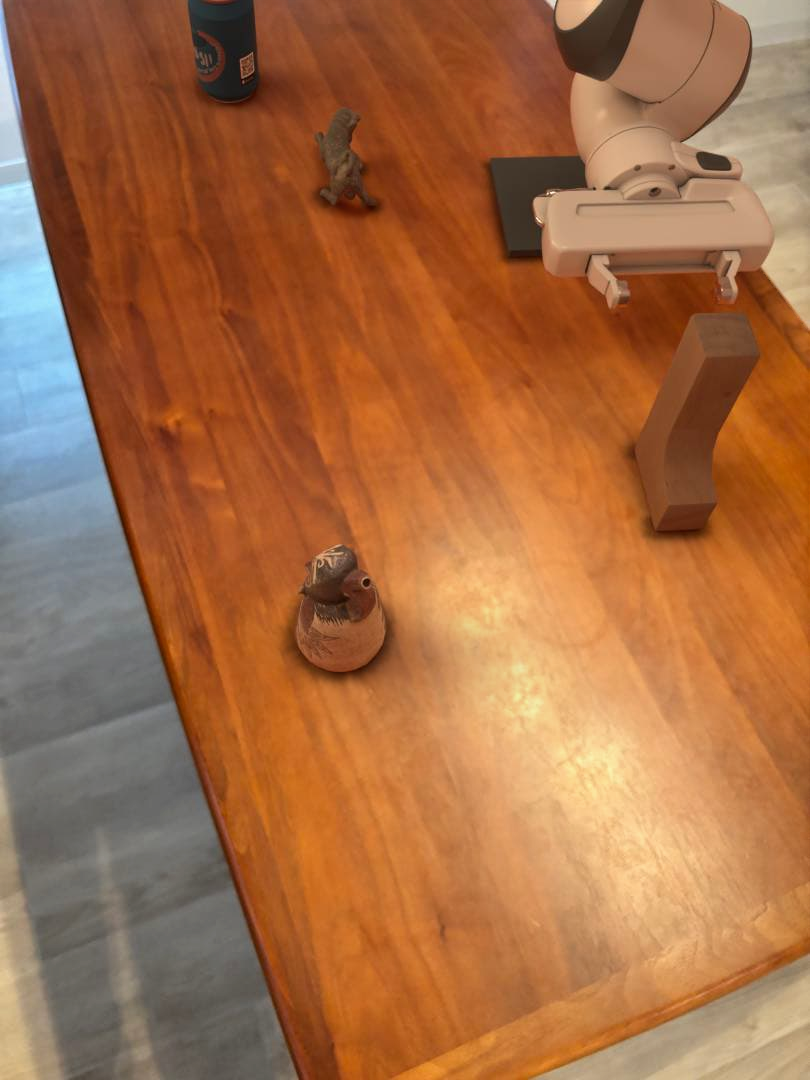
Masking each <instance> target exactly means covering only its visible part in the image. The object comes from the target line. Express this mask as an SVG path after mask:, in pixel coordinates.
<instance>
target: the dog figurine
mask: <svg viewBox="0 0 810 1080" xmlns="http://www.w3.org/2000/svg"><path fill="white" fill-rule="evenodd" d="M361 120H362V117H361V116H360V114H358V112H357V111H356V110H354V109H351V108H349V107H346V106H341V107H340V109H338V110H337V111H336V112H335V113H334V115H332V118H331V120H330V122H328V123H329V124H328V128H327V129H326V132H325V134H324V133H323V132H322V131H317V132H315V133H314V140H315V142H316V143H317V144H318V152H319V156H320V158H321V160H322V162H323V163H324V165H325V168H326V170H327V172H328V174H329V175H330V177H329V180H328V183H329V188H330V189H329V188H328V187H323V189H321V190H320V192H319V195H320V197H323V198H324V199H325V200H326V201H327V202H329V203H330V205H332V206H334V207H335V206H336V205H338V203H339V201H340V198H341V197H342V196H343V197H344V198H345V199H347V200H348V201H352V200H354V199H355V197H356V196H357V197H358V198H359V199H360V200H361V202H362V203H363V204H364V205H366V206H368V207H376V206H377V205H378V203H377V199H375V198H373V197H371V196H370V195H369V194H368V192H367V191H366V187H365V184H364V181H363V177H362V175H361V172H360V171H361V170H362V169H363V167H364V165H363V163H362V162H361V159H360V156H359V154H358V153H357V152H355V151H354V149H353V148H352V147H351V143H352V141H353V133H354V131H355V130H356V129H357V126H358V123H359V122H360V121H361Z"/></svg>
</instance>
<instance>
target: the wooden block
mask: <svg viewBox="0 0 810 1080" xmlns="http://www.w3.org/2000/svg"><path fill="white" fill-rule="evenodd" d="M760 358H761V350H760V347H759V344H758V342H757V339H756V336H755V333H754V330H753V327H752V325H751V321H750V318H749V316H748V314H747V313H746V312H744V311H733V312H732V311H730V312H706V313H705V312H703V313H694V314H692V315H691V316H690V318H689V320H688V322H687V324H686V327H685V330H684V332H683V334H682V336H681V339H680V341H679V344H678V345H677V348H676V350H675V353H674V355H673V357H672V359H671V361H670V365H669V367H668V369H667V372H666V374H665V375H664V378H663V381H662V383H661V385H660V387H659V390H658V392H657V394H656V396H655V399H654V402H653V404H652V406H651V409H650V411H649V413H648V416H647V417H646V420H645V423H644V425H643V426H642V430H641V432H640V434H639V437H638V439H637V441H636V443H635V446H634V449H633V452H634V454H635V459H636V463H637V466H638V471H639V475H640V479H641V483H642V486H643V490H644V494H645V499H646V502H647V506H648V510H649V513H650V517H651V521H652V525H653V529H654V531H656V532H671V531H687V530H689V531H690V530H701V529H703V528H704V527H705V525H706V523H707V522H708V521H709V519H710V517H711V516H712V514H713V512H714V510H716V509H715V508H716V507H717V505H718V502H719V501H718V495H717V490H716V485H715V481H714V476H713V475H714V474H713V464H714V462H713V461H714V449H715V446H716V443H717V440H718V436H719V434H720V432H721V430H722V428H723V426H724V425H725V422H726V421H727V419H728V417H729V415H730V413H731V412H732V409H733V408H734V406H735V404H736V402H737V400H738V399H739V396H740V395H741V393H742V391H743V389H744V387H745V386H746V384H747V382H748V380H749V379H750V376H751V375H752V373H753V371H754V370H755V367H756V365H757V364H758V362H759V360H760Z"/></svg>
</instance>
